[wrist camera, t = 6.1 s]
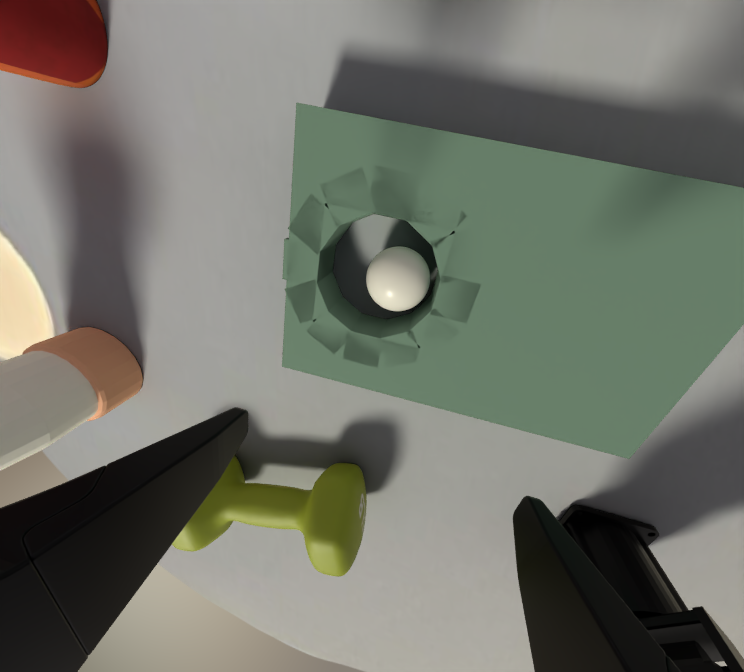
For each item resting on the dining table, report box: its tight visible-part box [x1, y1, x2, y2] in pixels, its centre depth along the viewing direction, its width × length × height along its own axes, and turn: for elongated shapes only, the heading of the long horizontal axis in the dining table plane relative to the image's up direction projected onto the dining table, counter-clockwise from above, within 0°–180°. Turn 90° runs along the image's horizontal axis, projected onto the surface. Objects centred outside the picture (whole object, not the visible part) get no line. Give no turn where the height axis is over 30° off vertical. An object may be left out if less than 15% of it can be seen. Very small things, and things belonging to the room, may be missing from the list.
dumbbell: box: [172, 456, 366, 576], centre depth 25 cm, size 16×8×7 cm, turn 94°
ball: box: [366, 246, 430, 311], centre depth 16 cm, size 4×4×4 cm
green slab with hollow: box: [282, 103, 744, 459], centre depth 16 cm, size 22×14×3 cm, turn 79°
